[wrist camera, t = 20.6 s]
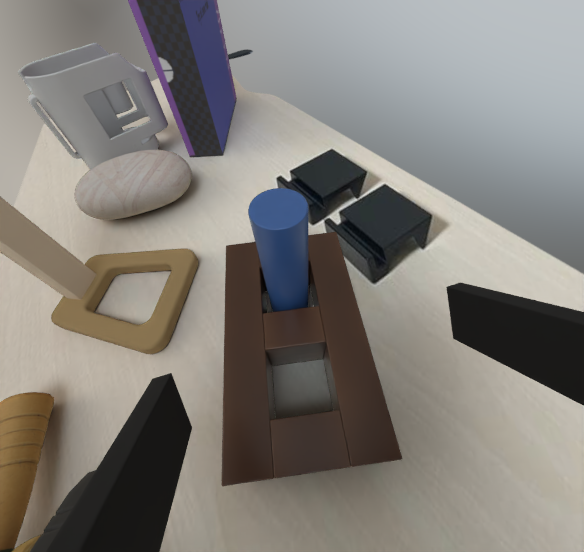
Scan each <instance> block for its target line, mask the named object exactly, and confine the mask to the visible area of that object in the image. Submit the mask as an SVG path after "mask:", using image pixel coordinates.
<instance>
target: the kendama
mask: <svg viewBox="0 0 584 552" xmlns="http://www.w3.org/2000/svg"><path fill="white" fill-rule="evenodd" d="M53 405H54V397H52V396H51V395H50V394H46V393H37V392H31V393H23V394H18V395H14V396H11V397H9V398H6V399H4V400H3V401H1V402H0V552H30V550H31V549H32V547H33V546H34V544H35V543H36V541H37V540H38V538H39V537H40V535H39V536H37V537H34V538H32V539H30V540H28V541H26V542H24V543H23V544H21V545H20V546H18V547H17V548H15V549H14V547H15V544H16V541H17V538H18V534H19V531H20V528H21V525H22V523H23V519H24V516H25V513H26V509H27V506H28V503H29V499H30V495H31V492H32V488H33V484H34V480H35V476H36V472H37V465H38V463H39V459H40V455H41V449H42V446H43V442H44V438H45V434H46V430H47V426H48V421H49V419H50V415H51V411H52V408H53Z"/></svg>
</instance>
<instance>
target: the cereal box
mask: <svg viewBox="0 0 584 552" xmlns="http://www.w3.org/2000/svg"><path fill="white" fill-rule="evenodd" d="M128 2H129V4H130V7H131V9H132V12H133V14H134V17H135V20H136V22H137V24H138V27H139V30H140V32H141V35H142V37H143V39H144V42H145V44H146V47H147V50H148V52H149V55H150V57H151V60H152V62H153V65H154V67H155V70H156V72H157V75H158V77H159V80H160V82H161V85H162V87H163V90H164V92H165V95H166V97H167V100H168V102H169V105H170V108H171V110H172V113H173V115H174V118H175V120H176V123H177V125H178V128H179V130H180V133H181V135H182V138H183V140H184V143H185V145H186V148H187V150H188V153H189V155H190V157H198V156H218V155H223V153H224V149H225V145H226V141H227V136H228V132H229V128H230V124H231V120H232V115H233V111H234V107H235V103H236V99H237V98H236V93H235V89H234V84H233V79H232V74H231V69H230V64H229V59H228V54H227V49H226V44H225V39H224V34H223V29H222V24H221V19H220V14H219V9H218V5H217V0H128Z"/></svg>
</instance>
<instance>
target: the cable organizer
mask: <svg viewBox="0 0 584 552" xmlns="http://www.w3.org/2000/svg"><path fill="white" fill-rule="evenodd" d="M18 73H19V75H20V76H21V78H22V79H23V80H24V82H25V83H26V84H27V86H28V88H29V90H30V91H31V92H32V94H31V95H30V96H29V97H28V101H29V103H30V104H31V105H32V107H33V108H34V109H35V111H36V112H37V113H38V115H39V116H40V117H41V118H42V120H43V121H44V122H45V123H46V125H47V126H48V127H49V128H50V130H51V131H52V132H53V133H54V135H55V136H56V137H57V139H58V140H59V141H60V142H61V144H62V145H63V146H64V147H65V149H66V150H67V151H68V152H69V154H70V155H71V156H72V157H74V158H76V159H79V158H82V159H83V161H84V162H85V163H86V165H87V166H88V167H89V169H90V170H91V169H92V168H94V167H96V166H97V165H99V164H101V163H103V162H105V161H108V160H110V159H113V158H115V157H118V156H121V155H125V154H128V153H132V152H137V151H143V150H157V149H158V146H159V142H158V140H157V138H156V136H155V134H156V133H158V132H160V131H162V130H164V129H165V128H166V127H167V126H168V123H167V120H166V118H165V115H164V113H163V111H162V108H161V106H160V104H159V101H158V99H157V97H156V94H155V92H154V89H153V87H152V85H151V82H150V80H149V78H148V75H147V73H146V71H145V70H143V69H141V68H139V67H137V66H135V65H133V64H131V63H129V62H128V61H127V60H126V59H124V58H123V57H122V56H121V55H120V54H119V53H113V54H109V53H108V52H107V51H105V50H104V49H103V48H102V47H101V46H100V45H98V44H97V43H92V44H89V45H86V46H83V47H79V48H76V49H73V50H69V51H66V52H63V53H60V54H56V55H53V56H50V57H47V58H43V59H40V60H37V61H34V62H32V63H30V64H27V65H25V66H24V67H22V68H21V69H20V70H19V71H18ZM121 81H124V83H125V85H126V87H127V89H128V91H129V93H130V95H131V97H132V99H133V101H134V103H135V105H136V108H137V110H135V111H133V112H131V113H128V114H126V115H124V116H121V117H119V118H117V116H116V115H117V114H120V113H123V112H126V111H128V110H130V109H132V108H133V104H132V102H131V100H130V98H129V96H128V94H127V92H126V90H125V88H124V86H123V84H122V82H121ZM37 101H39V103H40V104H41V106H42V107H43V108H44V109H45V111H46V112H47V113H48V115H49V116H50V117H51V119H52V120H53V121H54V123H55V124H56V125H57V127H58V128H59V129H60V130H61V132H62V133H63V134H64V136H65V137H66V138H67V140H68V141H69V142H70V144H71V145H72V146H73V148H74V149H75V150H76V151H77V152H75V153H74V151H73V150H72V149H71V148H70V146H69V145H68V144H67V142H66V141H65V140H64V138H63V137H62V136H61V135H60V133H59V132H58V131H57V129H56V128H55V127H54V126H53V124H52V123H51V122H50V120H49V119H48V118H47V116H46V115H45V114H44V113H43V111H42V110H41V109H40V107H39V106H38V105H37V104H36V102H37ZM147 116H148V117H149V119H150V121H148V122H146V123H144V124H142V125H139V126H137V127H131V128H128V129H125V130H123V129H122V127H123V126H125V125H128V124H130V123H132V122H134V121H137V120H139V119H141V118H143V117H147Z"/></svg>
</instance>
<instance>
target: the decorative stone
mask: <svg viewBox="0 0 584 552" xmlns="http://www.w3.org/2000/svg"><path fill="white" fill-rule="evenodd" d="M191 177H192V174H191V169H190V167H189V165H188V163H187V162H186V161H185V160H184V159H183V158H182V157H180V156H179V155H177V154H175V153H172V152H169V151H165V150H143V151H137V152H132V153H128V154H125V155H121V156H118V157H115V158H113V159H110V160H108V161H105V162H103V163H101V164H99V165H97V166H96V167H94V168H92V169H91V170H90V171H88V172H87V173H86V174H85V175H84V176H83V177H82V178H81V179H80V181H79V182H78V184H77V186H76V189H75V201H76V203H77V205H78V207H79V208H80V209H81V210H82V211H83V212H84V213H86V214H87V215H89V216H91V217H94V218H98V219H104V220H112V219H120V218H125V217H129V216H133V215H137V214H140V213H144V212H147V211H151V210H154V209H157V208H160V207H162V206H165V205H167V204H169V203H171V202H173V201H175V200H176V199H178V198H179V197H180V196H182V195H183V194H184V193H185V191H186V190H187V189H188V187H189V185H190V182H191Z"/></svg>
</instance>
